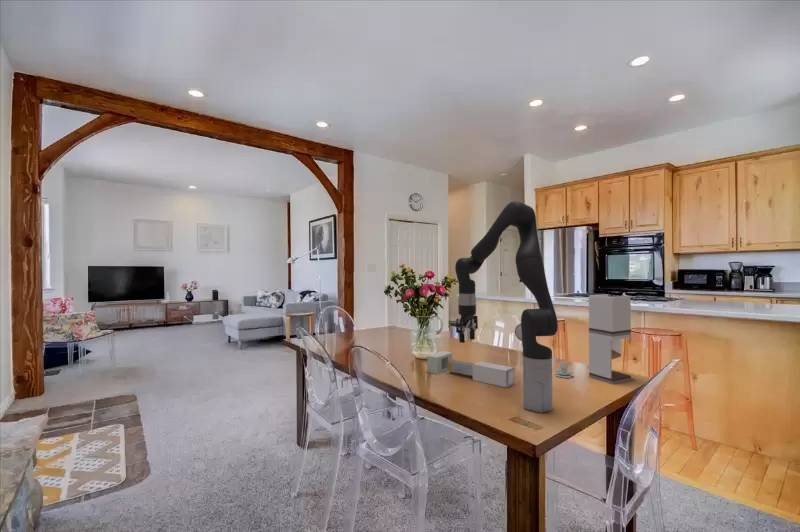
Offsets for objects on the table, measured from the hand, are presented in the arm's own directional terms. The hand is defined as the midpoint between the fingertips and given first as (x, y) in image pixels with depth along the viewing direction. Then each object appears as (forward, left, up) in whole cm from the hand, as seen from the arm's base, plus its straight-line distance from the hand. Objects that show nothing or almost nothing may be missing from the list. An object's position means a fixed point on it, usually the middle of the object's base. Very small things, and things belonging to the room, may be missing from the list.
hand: (467, 340), depth 158 cm
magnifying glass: (+33, -12, -16) cm, 38 cm away
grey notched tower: (+35, -48, -16) cm, 61 cm away
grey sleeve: (0, -12, -15) cm, 20 cm away
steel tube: (0, -4, -14) cm, 14 cm away
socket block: (0, +14, -15) cm, 21 cm away
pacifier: (+26, -32, -16) cm, 44 cm away
